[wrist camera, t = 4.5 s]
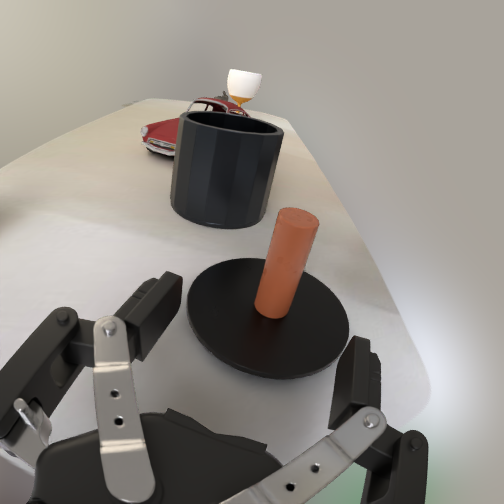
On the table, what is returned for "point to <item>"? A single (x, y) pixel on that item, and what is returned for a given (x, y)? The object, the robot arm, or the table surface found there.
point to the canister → (223, 168)
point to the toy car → (165, 132)
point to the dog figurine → (223, 99)
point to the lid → (270, 308)
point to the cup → (243, 85)
